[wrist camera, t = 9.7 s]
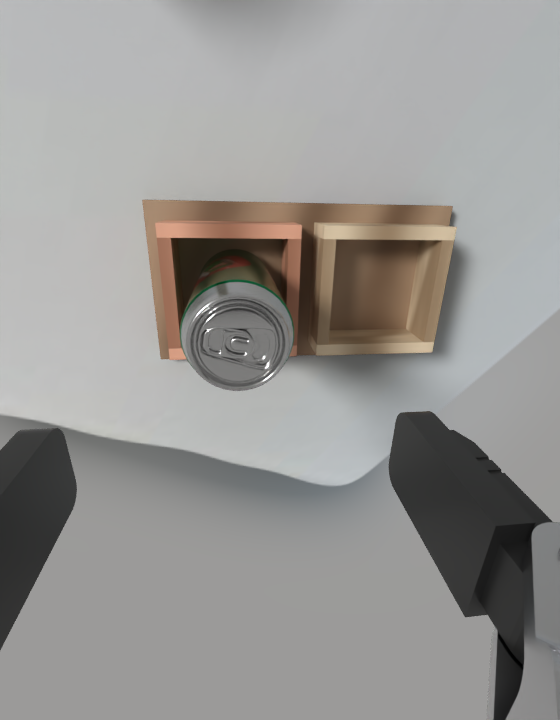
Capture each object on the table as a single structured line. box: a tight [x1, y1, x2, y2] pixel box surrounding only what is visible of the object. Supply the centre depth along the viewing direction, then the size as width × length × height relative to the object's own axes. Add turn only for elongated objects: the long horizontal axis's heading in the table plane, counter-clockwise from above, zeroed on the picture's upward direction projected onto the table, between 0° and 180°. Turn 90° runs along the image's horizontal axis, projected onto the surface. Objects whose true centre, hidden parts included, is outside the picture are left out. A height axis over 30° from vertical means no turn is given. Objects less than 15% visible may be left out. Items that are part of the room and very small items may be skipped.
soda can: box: [180, 249, 294, 391], centre depth 21 cm, size 5×5×12 cm
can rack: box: [142, 200, 457, 360], centre depth 26 cm, size 21×11×4 cm, turn 89°
